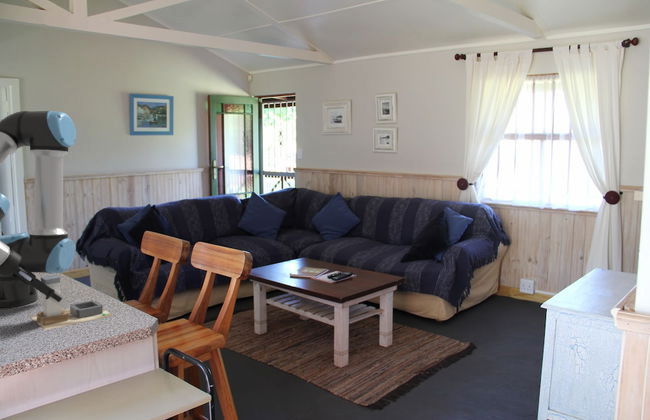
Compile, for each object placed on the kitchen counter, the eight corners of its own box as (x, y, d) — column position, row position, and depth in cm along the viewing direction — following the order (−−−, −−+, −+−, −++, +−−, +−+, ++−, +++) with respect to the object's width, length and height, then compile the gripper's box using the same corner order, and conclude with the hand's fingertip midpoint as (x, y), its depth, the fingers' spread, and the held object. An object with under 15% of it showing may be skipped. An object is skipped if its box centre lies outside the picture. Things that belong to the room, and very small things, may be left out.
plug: (43, 318, 172) (40, 277, 170) (57, 315, 174) (55, 274, 172) (47, 322, 168) (44, 279, 167) (62, 319, 171) (59, 277, 169)
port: (69, 312, 178) (68, 304, 178) (94, 307, 184) (94, 299, 183) (80, 320, 171) (79, 312, 171) (106, 314, 176) (106, 307, 176)
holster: (36, 319, 172) (35, 312, 171) (61, 314, 177) (61, 308, 176) (43, 325, 166) (43, 319, 166) (69, 320, 171) (69, 313, 171)
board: (29, 320, 174) (29, 316, 174) (95, 307, 188) (94, 303, 188) (45, 334, 163) (45, 330, 163) (114, 319, 176) (113, 315, 176)
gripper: (-16, 264, 165) (48, 307, 178) (-2, 275, 152) (66, 321, 166) (3, 243, 168) (64, 287, 181) (18, 253, 155) (83, 300, 169)
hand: (65, 303), depth 173 cm, fingers closed on plug, 4 cm apart
